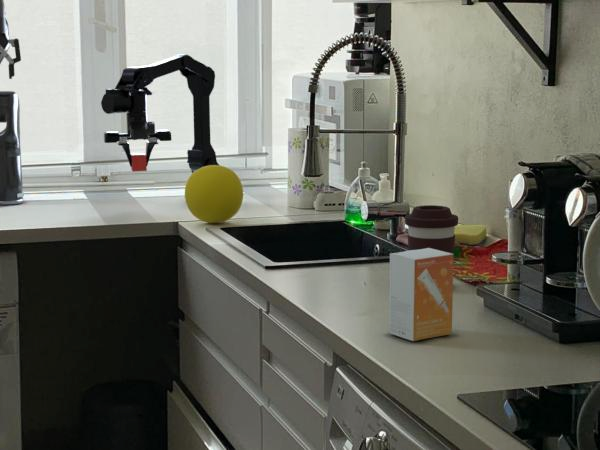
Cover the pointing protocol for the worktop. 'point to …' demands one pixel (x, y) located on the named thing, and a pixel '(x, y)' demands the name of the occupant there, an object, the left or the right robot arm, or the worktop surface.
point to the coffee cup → (431, 228)
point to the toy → (213, 193)
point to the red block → (138, 162)
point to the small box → (421, 294)
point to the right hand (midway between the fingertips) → (138, 166)
